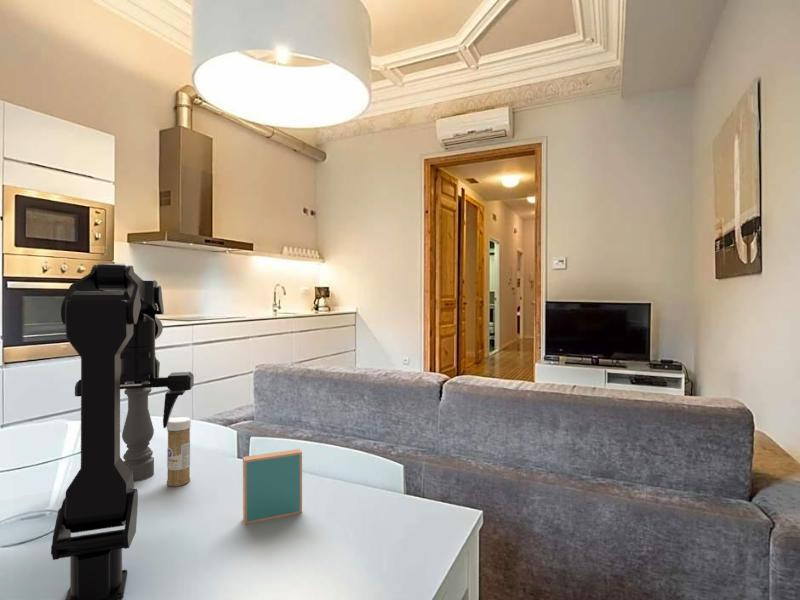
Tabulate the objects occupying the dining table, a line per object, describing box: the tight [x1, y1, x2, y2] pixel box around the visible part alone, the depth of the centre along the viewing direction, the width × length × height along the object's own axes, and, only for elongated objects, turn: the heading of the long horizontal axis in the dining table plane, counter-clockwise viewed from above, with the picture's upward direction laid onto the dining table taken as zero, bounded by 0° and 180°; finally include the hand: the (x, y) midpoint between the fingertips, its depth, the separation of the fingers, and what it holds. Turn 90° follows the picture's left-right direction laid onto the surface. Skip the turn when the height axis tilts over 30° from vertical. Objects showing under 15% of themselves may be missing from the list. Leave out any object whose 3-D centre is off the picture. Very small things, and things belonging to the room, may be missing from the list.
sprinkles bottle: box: [166, 416, 192, 487], centre depth 98 cm, size 5×5×14 cm
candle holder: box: [121, 381, 155, 482], centre depth 101 cm, size 6×6×25 cm
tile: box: [242, 448, 303, 525], centre depth 83 cm, size 2×10×11 cm, turn 116°
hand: (137, 429), depth 87 cm, fingers open, 9 cm apart
